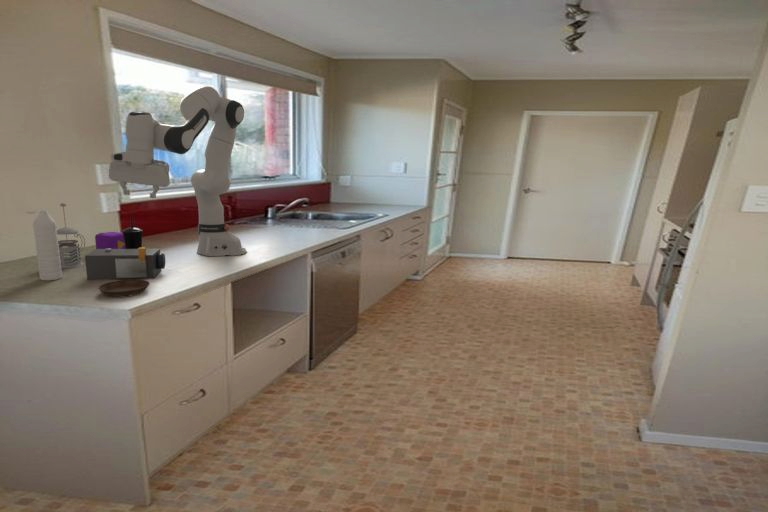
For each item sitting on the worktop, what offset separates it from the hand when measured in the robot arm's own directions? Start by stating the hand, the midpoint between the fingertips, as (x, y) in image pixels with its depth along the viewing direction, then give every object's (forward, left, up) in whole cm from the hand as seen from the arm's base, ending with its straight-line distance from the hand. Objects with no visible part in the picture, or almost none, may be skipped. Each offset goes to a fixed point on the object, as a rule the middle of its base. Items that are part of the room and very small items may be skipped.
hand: (139, 196), depth 161 cm
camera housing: (+7, -1, -30) cm, 31 cm away
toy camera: (+23, -41, -31) cm, 56 cm away
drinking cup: (+10, -23, -30) cm, 40 cm away
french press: (+32, -19, -30) cm, 48 cm away
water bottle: (+31, +3, -30) cm, 44 cm away
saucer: (+1, +21, -31) cm, 37 cm away
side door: (+3, +6, -29) cm, 30 cm away
